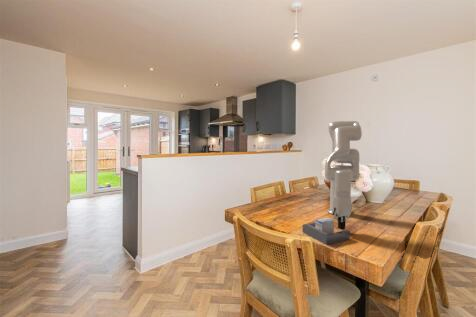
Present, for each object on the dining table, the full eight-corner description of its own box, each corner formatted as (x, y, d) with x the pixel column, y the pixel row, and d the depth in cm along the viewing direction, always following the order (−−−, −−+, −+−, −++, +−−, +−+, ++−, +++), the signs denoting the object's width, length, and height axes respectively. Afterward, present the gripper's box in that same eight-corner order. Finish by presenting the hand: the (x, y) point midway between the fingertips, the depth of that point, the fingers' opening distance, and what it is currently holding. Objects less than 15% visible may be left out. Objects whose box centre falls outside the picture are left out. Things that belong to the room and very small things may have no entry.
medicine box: (326, 234, 114) (327, 217, 114) (333, 237, 110) (334, 219, 110) (314, 236, 111) (315, 219, 110) (321, 240, 107) (322, 222, 106)
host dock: (324, 227, 123) (324, 219, 122) (349, 239, 108) (350, 229, 108) (302, 232, 116) (302, 223, 116) (326, 244, 102) (326, 234, 102)
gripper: (346, 191, 123) (345, 224, 124) (326, 193, 116) (325, 228, 118) (358, 194, 116) (357, 228, 117) (338, 197, 110) (337, 233, 111)
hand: (341, 228), depth 117 cm, fingers closed
